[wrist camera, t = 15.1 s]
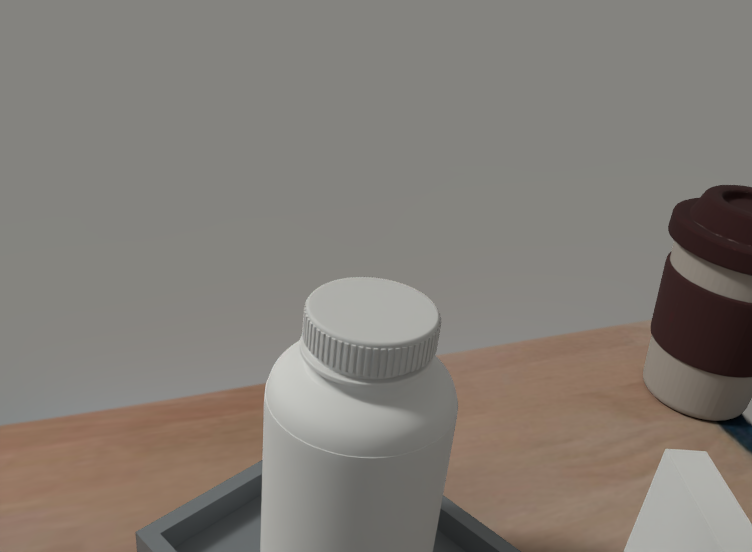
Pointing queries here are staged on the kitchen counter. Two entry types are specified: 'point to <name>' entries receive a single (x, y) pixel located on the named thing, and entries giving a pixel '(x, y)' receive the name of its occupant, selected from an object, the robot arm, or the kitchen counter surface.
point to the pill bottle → (358, 424)
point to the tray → (243, 523)
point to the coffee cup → (705, 308)
